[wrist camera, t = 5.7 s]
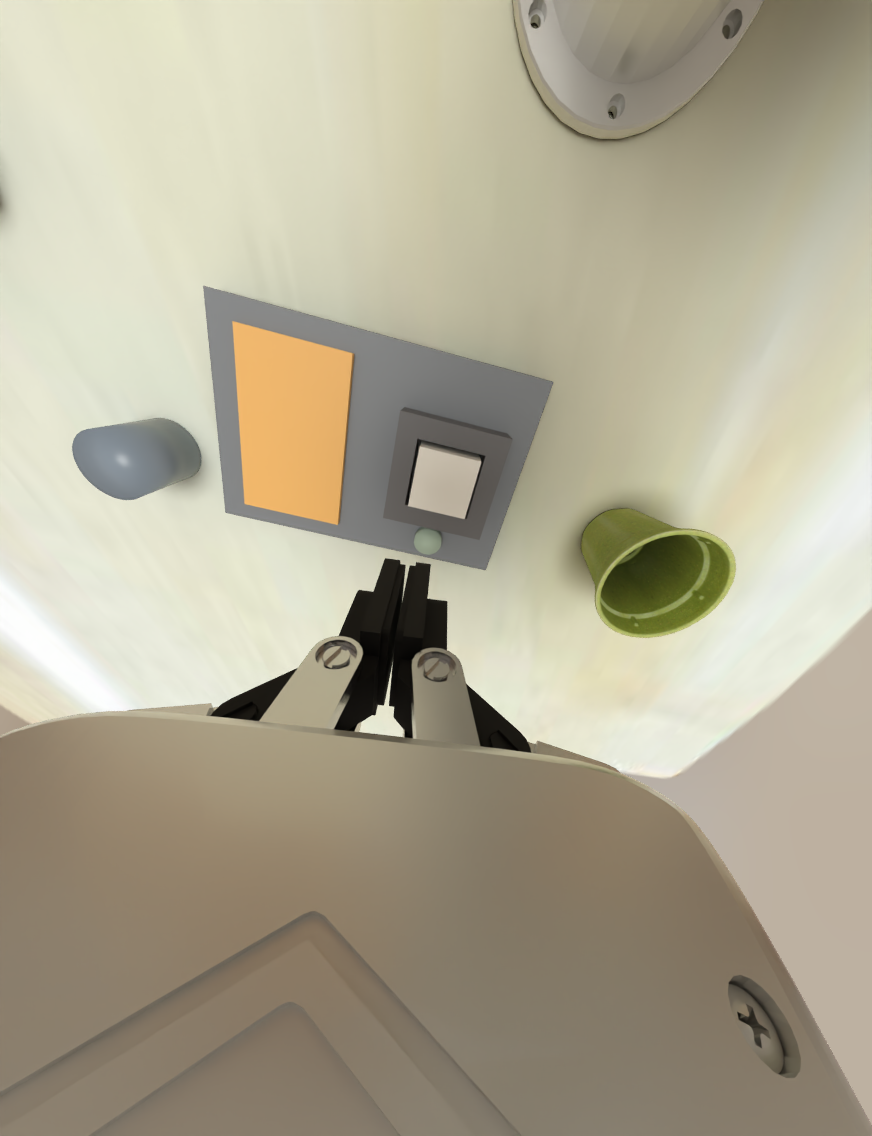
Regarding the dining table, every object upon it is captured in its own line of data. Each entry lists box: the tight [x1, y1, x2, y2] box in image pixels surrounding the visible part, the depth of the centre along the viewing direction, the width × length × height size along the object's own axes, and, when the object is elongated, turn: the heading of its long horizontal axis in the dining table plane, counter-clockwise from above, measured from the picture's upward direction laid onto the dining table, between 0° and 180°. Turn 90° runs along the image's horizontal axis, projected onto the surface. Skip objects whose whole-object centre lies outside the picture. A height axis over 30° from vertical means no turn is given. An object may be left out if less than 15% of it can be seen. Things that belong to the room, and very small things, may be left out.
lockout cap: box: [72, 418, 201, 500], centre depth 26 cm, size 5×5×6 cm
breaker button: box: [408, 440, 481, 519], centre depth 26 cm, size 4×4×3 cm
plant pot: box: [581, 508, 736, 638], centre depth 28 cm, size 9×9×9 cm
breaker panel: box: [203, 286, 553, 570], centre depth 26 cm, size 24×16×4 cm, turn 77°
